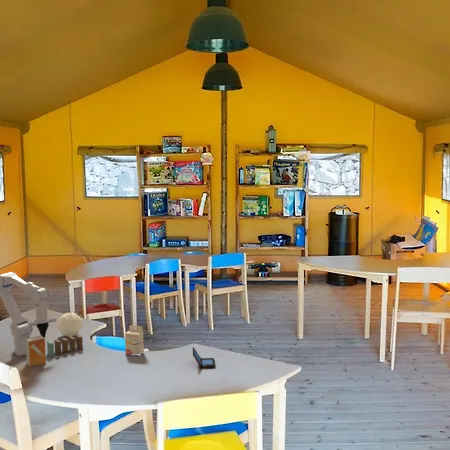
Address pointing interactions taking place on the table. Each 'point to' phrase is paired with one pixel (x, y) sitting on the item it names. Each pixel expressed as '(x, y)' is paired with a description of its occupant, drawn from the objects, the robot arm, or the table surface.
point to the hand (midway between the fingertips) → (43, 337)
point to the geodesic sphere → (69, 324)
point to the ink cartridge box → (134, 340)
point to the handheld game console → (203, 360)
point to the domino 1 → (50, 348)
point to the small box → (35, 350)
